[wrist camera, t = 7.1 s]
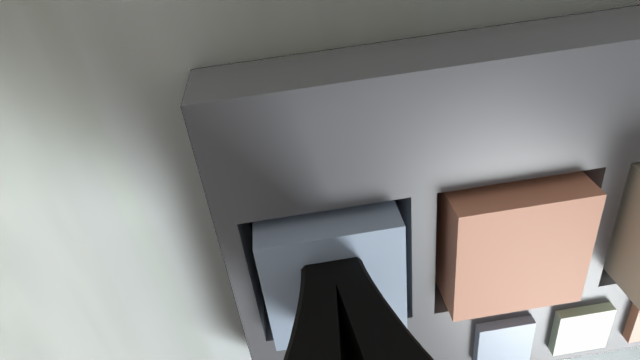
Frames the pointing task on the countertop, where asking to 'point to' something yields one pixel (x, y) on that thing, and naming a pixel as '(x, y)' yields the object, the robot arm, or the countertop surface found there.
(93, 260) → the countertop surface
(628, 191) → the key cream
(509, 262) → the key terracotta
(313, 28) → the countertop surface
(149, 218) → the countertop surface
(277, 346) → the key slate
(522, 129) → the keypad
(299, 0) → the countertop surface
